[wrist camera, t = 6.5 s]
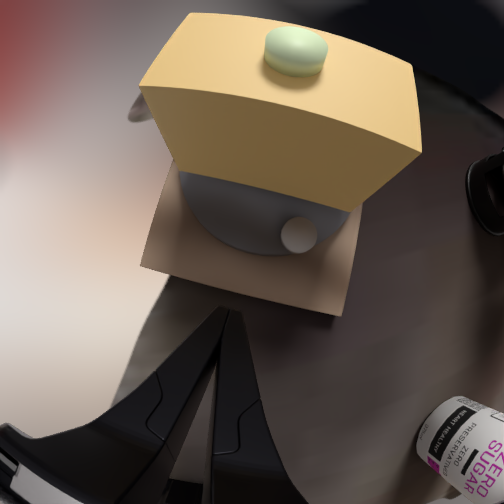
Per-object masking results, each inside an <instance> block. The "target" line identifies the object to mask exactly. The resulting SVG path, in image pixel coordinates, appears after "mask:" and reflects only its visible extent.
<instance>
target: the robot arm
mask: <svg viewBox="0 0 504 504" xmlns="http://www.w3.org/2000/svg"><path fill="white" fill-rule="evenodd" d="M216 363H217V364H216ZM215 366H216V371H215V379H214V387H213V396H212V405H211V414H210V423H209V432H208V442H207V452H206V462H205V472H204V483H203V484H199V483H192V482H186V481H180V480H174V479H169V476H170V474H171V471H172V469H173V467H174V464H175V462H176V460H177V457H178V455H179V453H180V450H181V448H182V445H183V443H184V441H185V438H186V436H187V434H188V431H189V429H190V426H191V424H192V422H193V419H194V417H195V415H196V412H197V410H198V407H199V405H200V403H201V400H202V398H203V395H204V393H205V391H206V388H207V386H208V383H209V381H210V379H211V376H212V374H213V371H214V369H215ZM0 504H309V503H308V502H307V501H306V500H305V498H304V497H303V496H302V495H301V494H300V492H299V491H298V490H297V489H296V487H295V486H294V485H293V483H292V482H291V480H290V478H289V477H288V475H287V473H286V470H285V468H284V466H283V464H282V461H281V459H280V456H279V454H278V451H277V449H276V446H275V444H274V441H273V439H272V436H271V433H270V430H269V427H268V425H267V421H266V418H265V414H264V410H263V406H262V401H261V399H260V393H259V388H258V384H257V379H256V374H255V370H254V365H253V361H252V356H251V351H250V346H249V342H248V337H247V332H246V327H245V322H244V317H243V313H242V311H241V310H237V309H233V308H231V309H229V308H228V307H225V306H221V305H218V306H217V307H216V308H215V309H214V310H213V311H212V312H211V313H210V314H209V315H208V316H207V317H206V318H205V319H204V320H203V321H202V322H201V323H200V324H199V325H198V326H197V327H196V328H195V329H194V330H193V331H192V333H191V334H190V335H189V336H188V337H187V338H186V339H185V340H184V341H183V342H182V343H181V344H180V345H179V346H178V347H177V348H176V349H175V350H174V351H173V352H172V353H171V354H170V355H169V356H168V357H167V358H166V359H165V360H164V361H163V362H162V363H161V364H160V365H159V366H158V367H157V369H156V371H153V372H152V373H151V374H150V375H149V377H148V378H147V379H145V380H144V381H143V382H142V383H141V384H140V385H139V386H138V387H137V388H136V389H135V390H133V391H132V392H131V393H130V394H129V395H127V396H126V397H125V398H123V399H122V400H121V401H120V402H118V403H117V404H116V405H114V406H113V407H112V408H110V409H109V410H108V411H106V412H105V413H103V414H102V415H101V416H99V417H98V418H96V419H95V420H93V421H92V422H90V423H88V424H85V425H83V426H80V427H77V428H74V429H71V430H67V431H64V432H60V433H57V434H53V435H50V436H46V437H43V438H37V439H35V438H32V437H30V436H29V435H27V434H25V433H24V432H22V431H21V430H19V429H18V428H16V427H14V426H13V425H11V424H9V423H4V424H2V425H0ZM494 504H504V500H502V501H500V502H497V503H494Z"/></svg>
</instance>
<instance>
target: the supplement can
mask: <svg viewBox="0 0 504 504" xmlns="http://www.w3.org/2000/svg"><path fill="white" fill-rule="evenodd" d="M416 447H417V454H418V455H419V456H420V457H421V459H423V460H424V461H425V462H426V463H427V464H428V465H429V466H430V467H432V468H433V469H434V470H435V471H436V472H437V473H438V474H440V475H441V476H442V477H443V478H444V479H445V480H446V481H448V482H449V483H450V484H451V485H452V486H453V487H455V488H456V489H457V490H458V491H459V492H461V493H462V494H463V495H464V496H465V497H467V498H468V499H469V500H470V501H471V502H473V503H474V504H494V503H497V502H500V501H502V500H504V414H503V413H501V412H498V411H496V410H493V409H491V408H489V407H486V406H484V405H482V404H479V403H477V402H475V401H472V400H470V399H468V398H466V397H463V396H457V397H453V398H451V399H449V400H447V401H445V402H444V403H442V404H441V405H440V406H438V407H437V408H436V409H435V410H434V411H433V412H432V413H431V414H430V416H429V417H428V418H427V419H426V421H425V422H424V424H423V426H422V428H421V430H420V433H419V437H418V440H417V444H416Z"/></svg>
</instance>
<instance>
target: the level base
mask: <svg viewBox="0 0 504 504" xmlns="http://www.w3.org/2000/svg"><path fill="white" fill-rule="evenodd" d="M362 204H363V202H362V203H361V204H360V205H359V206H357V207H356V208H355V209H354V210H353V211H351V212H347V211H343V210H340V209H336V208H333V207H330V206H326V205H323V204H319V203H315V202H312V201H308V200H305V199H301V198H297V197H293V196H290V195H286V194H282V193H278V192H274V191H270V190H266V189H262V188H258V187H253V186H249V185H245V184H241V183H236V182H232V181H227V180H223V179H218V178H214V177H209V176H204V175H199V174H194V173H189V172H184V171H179V169H178V167H177V165H176V163H175V161H174V159H173V162H172V164H171V167H170V170H169V173H168V175H167V178H166V181H165V184H164V187H163V190H162V193H161V196H160V199H159V202H158V205H157V208H156V211H155V214H154V218H153V222H152V224H151V228H150V231H149V235H148V238H147V242H146V245H145V249H144V252H143V256H142V260H141V264H140V266H142V267H145V268H149V269H152V270H155V271H159V272H163V273H166V274H169V275H173V276H176V277H180V278H184V279H187V280H191V281H195V282H198V283H202V284H206V285H210V286H213V287H217V288H221V289H225V290H229V291H233V292H237V293H241V294H245V295H249V296H253V297H257V298H261V299H265V300H269V301H273V302H278V303H282V304H286V305H291V306H295V307H299V308H304V309H308V310H313V311H317V312H322V313H327V314H331V315H336V316H341V315H342V311H343V306H344V302H345V298H346V293H347V289H348V284H349V279H350V275H351V270H352V265H353V259H354V254H355V248H356V243H357V237H358V231H359V224H360V218H361V211H362Z"/></svg>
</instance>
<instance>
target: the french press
mask: <svg viewBox="0 0 504 504" xmlns="http://www.w3.org/2000/svg"><path fill="white" fill-rule="evenodd" d="M487 173H490V174H491V175H492V176H493V177H494V178H495V179H496V181H497V182H498V184H499V186H500V188H501V190H502V193H503V196H504V147H503V148H502V152H501V153H499V154H498V155H497V154H491V155H489V156H487V157H485V158H484V159H482V160H480V161H476V162H473V163H472V164H471V165H470V166H469V168H468V170H467V174H466V192H467V197H468V201H469V204H470V207H471V209H472V212H473V214H474V216H475V218H476V220H477V221H478V223H479V224H480V226H481V227H482V228H483V229H484V230H485V231H486V232H487V233H488V234H490V235H493V236H500V235H502V234H504V216H502V217H500V216H499V215H498V213H497V211H496V209H495V207H494V205H493V203H492V201H491V198H490V195H489V192H488V188H487V184H486V177H485V174H487Z"/></svg>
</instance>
